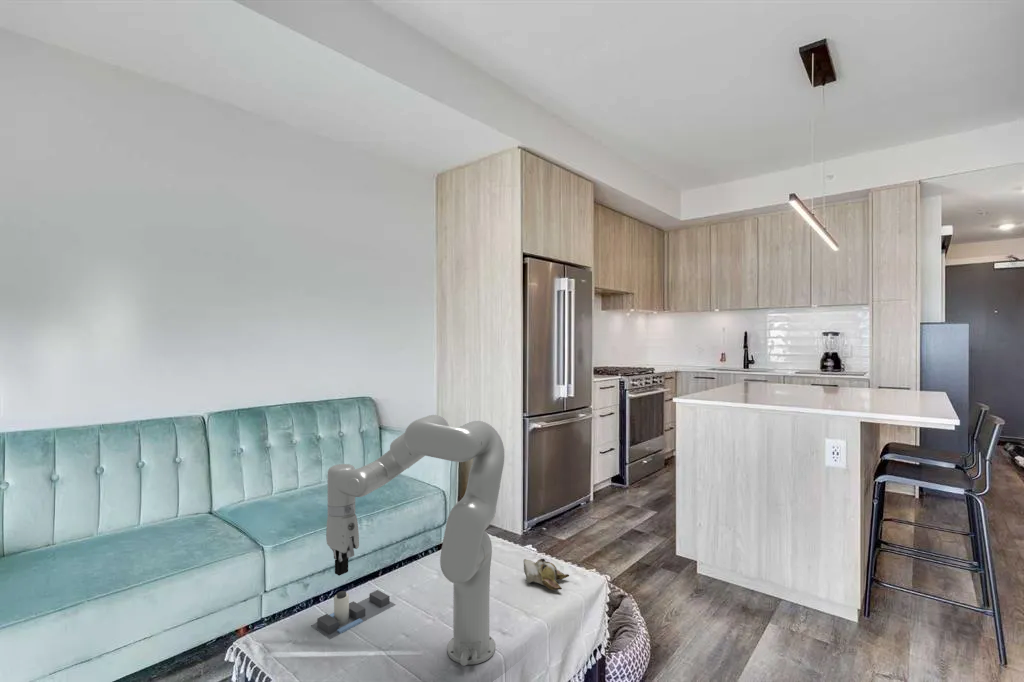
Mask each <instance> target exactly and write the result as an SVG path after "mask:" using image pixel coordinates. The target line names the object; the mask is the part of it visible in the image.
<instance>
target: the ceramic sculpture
mask: <svg viewBox="0 0 1024 682" xmlns="http://www.w3.org/2000/svg"><path fill="white" fill-rule="evenodd" d="M523 572H524V575H525V579H526V582H527V584H531V583H537V584H539V585H542V586H545V588H547V589H549V590H552V591H558V590H562V589H563V588H562V587H561V586H560V585H559V583H558V581H557V580H559V581H560V580H563V579H566V578H568V577H570V574H569V573H568V574H565V573H563V572H561V571H560V570H559V569H557V567H556V565H555V564H554V563H552V562H550V561H546V559H545V558H540V559H538V560H537V561H535V562H534V561H532V560H531V559H526V558H524V559H523Z"/></svg>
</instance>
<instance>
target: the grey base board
mask: <svg viewBox="0 0 1024 682" xmlns="http://www.w3.org/2000/svg"><path fill="white" fill-rule="evenodd" d="M368 595H369V597H367V598H364V599H363V600H361V601H359V602H355V601H352V602H349V622H348V623H346V624H344V625H339V621H337V620H336V619H334V612H332V613H330V614H329V613H326V614H323V615H321V616H320V617H317V620H316V621H317V622H315V623H313V624H311V625H310V627H311V628H313V629H315V630H316V631H318V632H319V633H321V635H323V636H325V638H327V639H329V640H331V639H334V638H336V637H338V636H339V635H341V634H342V633H345V632H347V631H349V630H351V629H353V628H355V627H356V626H358V625H360V624H362V623H365V622H367V620H369V619H371V618H373V617H376V616H378V615H379V614H381V613H383V612H385V611H387V610H389V609H391V608H393V607H394V606H396V605H397V604H395V603H394V602H392V601H391V598H390V595H388V594H387V593H384V592H382V591H381V590H379V589H376V590H374V591H372V592H370V593H369V594H368Z"/></svg>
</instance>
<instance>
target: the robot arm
mask: <svg viewBox="0 0 1024 682" xmlns="http://www.w3.org/2000/svg"><path fill="white" fill-rule="evenodd" d="M503 443H504V442H503V440H502V437H501V436H500V434H499V433H498V431H497V430H496V429H495V427H493V426H492V425H490V424H489V423H488V422H486V421H483V420H482V421H481V420H473V421H469V422H466V423H465V424H463V425H461V426H459V427H455V426H451V425H449V423H448V421H447V420H446V419H445V417H443V416H441V415H438V414H431V415H427V416H424V417H421V418H418V419H416V420H414V421H412V422H411V423H410V424H408V426H407V427H406V429H405V431H404V433H402V434H400V435H399V436H397V438H395V439H394V440H392V442H390V445H389V449H388V451H386V452H385V453H384V454H382V455H381V456H380V457H378V458H377V459H375V460H374V461H373V462H370V463H368V464H366V465H363V466H361V467H358V468H355V466H354V465H353V464H349V463H348V464H347V463H340V464H335V465H332V466H330V467H329V469H328V470H327V519H326V534H325V535H326V545H327V546H328V547H329V548H330V550H332V553H333V559H334V574H335V575H337V576H342V575H344V574H346V573H348V572H349V559H350V558H353V557H355V551H354V550H355V549H356V550H357V549H358V548H359V547H360V535H359V524H358V523H359V522H358V518H357V517H358V516H357V514H356V498H362V497H366V496H367V495H369V494H371V493H372V492H374V491H375V490H378V489H380V488H381V487H383V486H385V485H387V484H388V483H389V482H390V481H392V480H394V479H395V478H396V477H398V476H399V475H400V474H402V473H403V472H404V471H406V470H407V469H409V468H411V467H412V466H413V465H415V464H416V463H417V462H419V461H420V460H421V459H423V458H424V457H429V458H435V459H439V460H445V461H449V462H456V463H463V462H469V461H470V460H472V459H473V461H472V463H471V466H470V468H469V469H470V470H469V472H468V479H467V480H468V481H467V486H466V489H465V493H464V495H463V497H462V498H461V499H460V500H459V501H457V502H456V504H455V505H453V507H452V508H451V511H450V512H449V514H448V516H447V520H446V525H445V530H444V535H443V539H442V545H441V550H440V556H439V557H440V558H439V564H440V569H441V573H442V575H443V576H444V578H445V579H446V580H447V581H448V582H451V583H452V584H453V588H452V589H453V593H452V594H453V596H452V597H453V599H452V600H453V601H452V602H453V603H452V604H453V622H452V623H453V624H452V625H453V627H452V630H453V632H452V633H453V635H452V636H453V637H452V638H451V639H450V640H449V641H448V643H447V648H446V649H447V654H448V656H449V658H450V659H451V661H454V662H455V663H458V664H460V665H461V666H467V665H470V666H471V665H477V664H481V663H484V662H486V661H487V660H489V659H490V658H492V656H493V655H494V654H495V652H496V642H495V640H494V638H493V637H492V636H490V591H491V589H490V587H491V586H490V584H491V582H490V580H491V579H490V577H491V575H490V574H491V566H492V565H491V564H492V555H493V545H492V540H491V537H490V535H489V533H488V532H487V531H486V530H487V528H488V527H489V526H490V525H491V523H492V522H493V520H494V518H495V515H496V510H497V504H498V499H499V494H500V493H499V492H500V488H501V481H502V476H503V471H504V464H505V447H504V444H503Z"/></svg>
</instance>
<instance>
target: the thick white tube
mask: <svg viewBox="0 0 1024 682" xmlns="http://www.w3.org/2000/svg"><path fill="white" fill-rule="evenodd" d="M349 603H350V594H349V593H348V592H347V591H345V590H340V591H338V592H337V593H336V594H335V595H334V596H333V609H334V610H333V613H334V619H336V620H337V621H339V625H344V624H346V623H348V622H349Z"/></svg>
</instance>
